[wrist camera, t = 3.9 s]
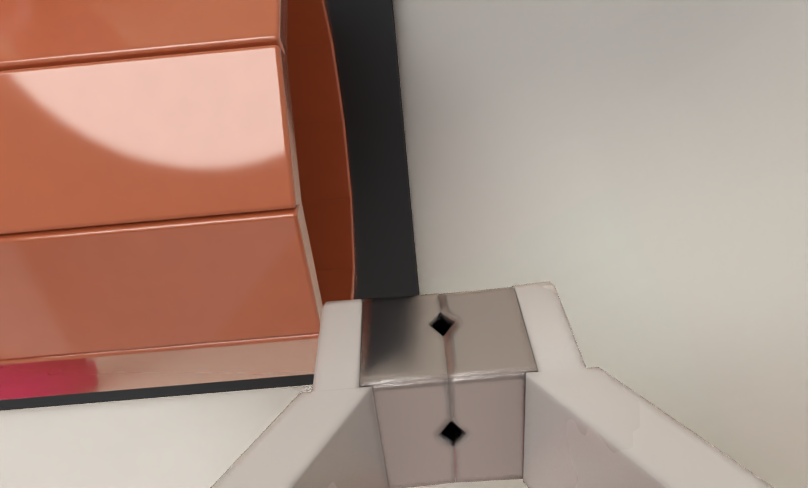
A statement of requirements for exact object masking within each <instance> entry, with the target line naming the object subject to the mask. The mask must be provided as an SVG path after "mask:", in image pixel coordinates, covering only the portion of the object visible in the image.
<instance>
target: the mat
mask: <svg viewBox="0 0 808 488" xmlns="http://www.w3.org/2000/svg"><path fill="white" fill-rule="evenodd" d="M327 4H328V9H329V13H330V18H331V23H332V27H333V35H334V39H335V46H336V53H337V60H338V66H339V73H340V80H341V87H342V94H343V101H344V108H345V120H346V123H347V134H348V144H349V155H350V166H351V176H352V187H353V197H354V200H353V203H354V214H355V238H356V263H357V294H356V299H362V300H364V299H365V298H380V297H394V296H409V295H419V287H418V276H417V265H416V254H415V243H414V232H413V221H412V210H411V199H410V188H409V177H408V166H407V155H406V144H405V133H404V122H403V111H402V100H401V89H400V78H399V67H398V56H397V45H396V34H395V23H394V13H393V2H392V0H327ZM313 380H314V374H306V375H294V376H282V377H270V378H258V379H246V380H234V381H222V382H210V383H198V384H186V385H174V386H162V387H150V388H138V389H126V390H114V391H102V392H90V393H78V394H66V395H54V396H42V397H30V398H19V399H7V400H0V410H12V409H24V408H36V407H48V406H60V405H72V404H84V403H96V402H108V401H120V400H132V399H144V398H156V397H168V396H180V395H192V394H204V393H216V392H228V391H240V390H252V389H264V388H276V387H288V386H300V385H312V384H313Z"/></svg>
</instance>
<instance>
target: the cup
mask: <svg viewBox="0 0 808 488" xmlns="http://www.w3.org/2000/svg"><path fill="white" fill-rule="evenodd" d="M353 200H354V197H353V187H352V176H351V166H350V155H349V144H348V134H347V123H346V120H345V108H344V101H343V94H342V87H341V80H340V73H339V66H338V60H337V53H336V46H335V39H334V35H333V27H332V23H331V18H330V13H329V9H328V4H327V0H0V400H7V399H19V398H30V397H42V396H54V395H66V394H78V393H90V392H102V391H114V390H126V389H138V388H150V387H162V386H174V385H186V384H198V383H210V382H222V381H234V380H246V379H258V378H270V377H282V376H294V375H306V374H314V372H315V364H316V355H317V347H318V339H319V331H320V322H321V314H322V308H323V306H324V305H325V303H326V302H330V301H343V300H355V299H356V294H357V263H356V238H355V214H354V203H353Z"/></svg>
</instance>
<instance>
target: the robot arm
mask: <svg viewBox="0 0 808 488" xmlns="http://www.w3.org/2000/svg"><path fill="white" fill-rule="evenodd" d="M507 479H523V482H524V483H525V484H526V486H527V487H528V488H773V487H772V486H771V485H769V484H768V483H766V482H765V481H763V480H762V479H760V478H759V477H757V476H756V475H755V474H753V473H752V472H750V471H749V470H747V469H746V468H744V467H743V466H741V465H740V464H739V463H737V462H736V461H734V460H733V459H731V458H730V457H728V456H727V455H725V454H724V453H723V452H721V451H720V450H718V449H717V448H715V447H714V446H712V445H711V444H709V443H708V442H707V441H705V440H704V439H702V438H701V437H699V436H698V435H696V434H695V433H693V432H692V431H691V430H689V429H688V428H686V427H685V426H683V425H682V424H680V423H679V422H677V421H676V420H675V419H673V418H672V417H670V416H669V415H667V414H666V413H664V412H663V411H661V410H660V409H659V408H657V407H656V406H654V405H653V404H651V403H650V402H648V401H647V400H645V399H644V398H643V397H641V396H640V395H638V394H637V393H635V392H634V391H632V390H631V389H630V388H628V387H627V386H625V385H624V384H622V383H621V382H619V381H618V380H616V379H615V378H614V377H612V376H611V375H609V374H608V373H606V372H605V371H603V370H602V369H600V368H599V367H593V368H586V366H585V363H584V361H583V358H582V355H581V353H580V350H579V348H578V345H577V342H576V340H575V337H574V335H573V332H572V329H571V327H570V324H569V322H568V319H567V317H566V314H565V311H564V309H563V306H562V304H561V301H560V298H559V296H558V293H557V291H556V288H555V286H554V285H553V284H552V283H551V282H541V283H533V284H524V285H515V286H512V287H508V288H497V289H486V290H476V291H465V292H454V293H444V294H424V295H409V296H394V297H380V298H365V299H364V300H362V299H355V300H343V301H330V302H326V303H325V305H324V306H323V308H322V314H321V322H320V331H319V339H318V347H317V355H316V364H315V372H314V380H313V388H312V392H303V393H300V394H299V395H298V396H297V397H296V398H295V399H294V400H293V401H292V402H291V403H290V404H289V405H288V406H287V407H286V409H285V410H284V411H283V412H282V413H281V414H280V415H279V416H278V417H277V418H276V419H275V420H274V421H273V422H272V423H271V424H270V425H269V427H268V428H267V429H266V430H265V431H264V432H263V433H262V434H261V435H260V436H259V437H258V438H257V439H256V440H255V441H254V442H253V443H252V444H251V446H250V447H249V448H248V449H247V450H246V451H245V452H244V453H243V454H242V455H241V456H240V457H239V458H238V459H237V460H236V461H235V462H234V464H233V465H232V466H231V467H230V468H229V469H228V470H227V471H226V472H225V473H224V474H223V475H222V476H221V477H220V478H219V479H218V480H217V481H216V483H215V484H214V485H213V486H212V487H211V488H408V487H417V486H426V485H435V484H444V483H454V482H455V480H456V482H471V481H489V480H507Z"/></svg>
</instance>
